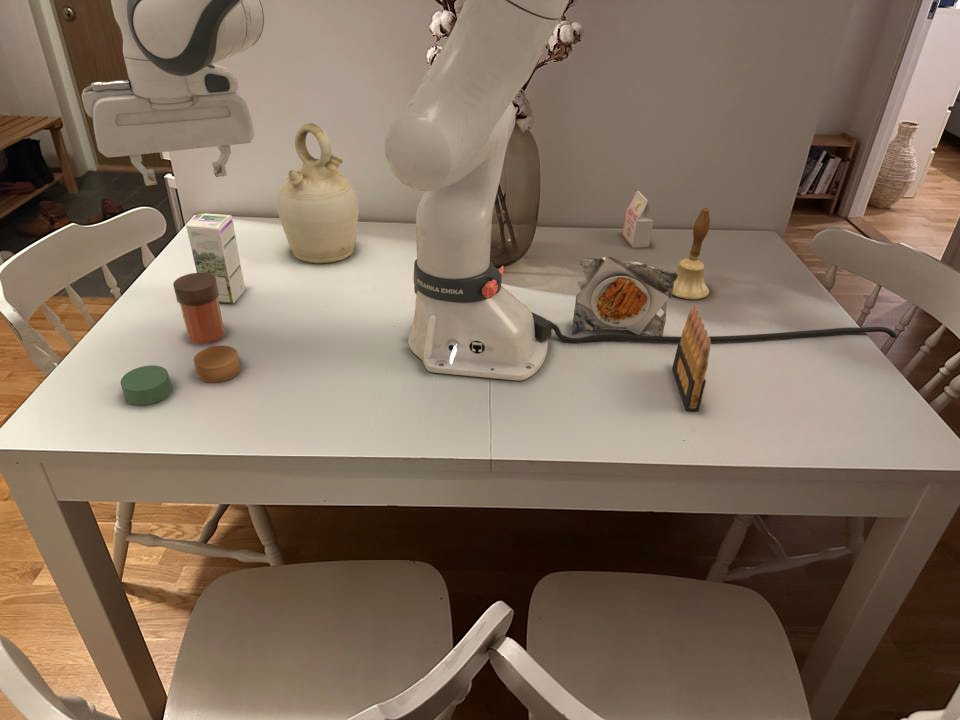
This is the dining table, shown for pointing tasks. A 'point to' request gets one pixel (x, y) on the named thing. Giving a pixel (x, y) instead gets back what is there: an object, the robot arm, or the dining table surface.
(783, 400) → the dining table surface
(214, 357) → the oak chip
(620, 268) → the meal
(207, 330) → the cup
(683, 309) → the dining table surface
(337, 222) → the jug
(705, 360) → the ammunition clip
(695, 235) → the hand bell
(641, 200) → the white carton
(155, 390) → the green chip
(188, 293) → the walnut chip
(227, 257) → the syrup box
